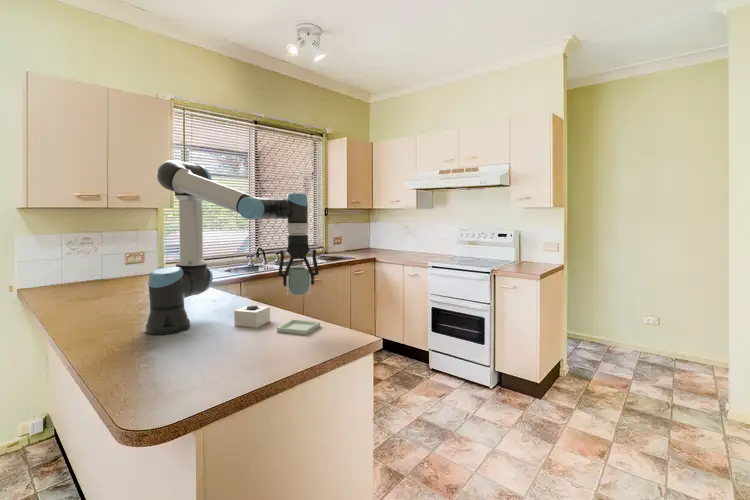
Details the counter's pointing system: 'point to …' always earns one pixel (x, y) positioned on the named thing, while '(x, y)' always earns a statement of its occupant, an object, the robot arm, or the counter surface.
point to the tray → (298, 327)
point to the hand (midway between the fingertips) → (298, 293)
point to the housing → (252, 316)
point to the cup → (298, 280)
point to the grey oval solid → (252, 308)
